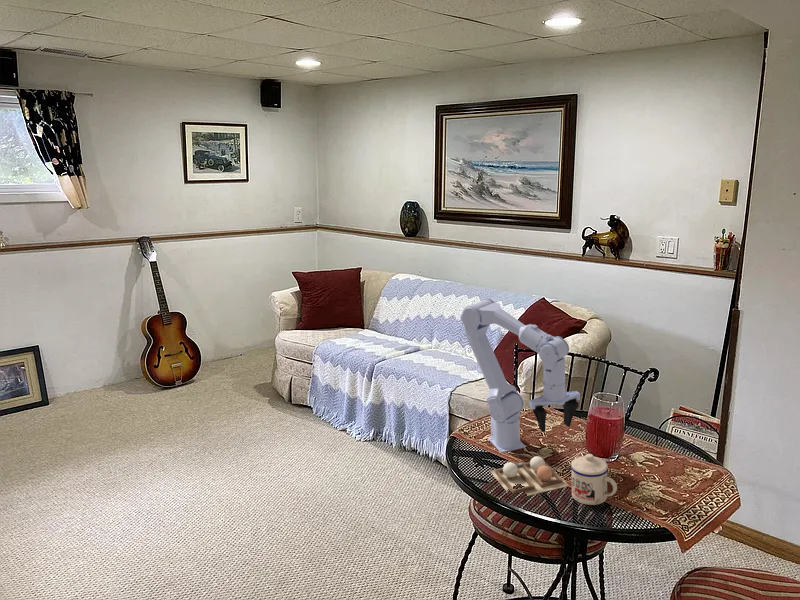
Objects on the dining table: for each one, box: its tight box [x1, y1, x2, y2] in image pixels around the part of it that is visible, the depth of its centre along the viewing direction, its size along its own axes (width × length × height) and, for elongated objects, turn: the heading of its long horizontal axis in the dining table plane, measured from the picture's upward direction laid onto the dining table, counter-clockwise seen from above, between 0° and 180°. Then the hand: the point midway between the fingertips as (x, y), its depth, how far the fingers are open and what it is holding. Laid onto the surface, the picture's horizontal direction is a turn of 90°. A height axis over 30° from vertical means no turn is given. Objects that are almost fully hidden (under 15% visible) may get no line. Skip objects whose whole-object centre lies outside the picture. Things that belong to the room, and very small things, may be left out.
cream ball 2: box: [529, 455, 546, 471], centre depth 181 cm, size 4×4×4 cm
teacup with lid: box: [570, 453, 618, 506], centre depth 166 cm, size 12×9×12 cm
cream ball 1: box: [502, 461, 518, 478], centre depth 180 cm, size 4×4×4 cm
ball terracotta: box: [537, 466, 552, 481], centre depth 177 cm, size 4×4×4 cm
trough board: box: [489, 460, 570, 497], centre depth 179 cm, size 15×16×1 cm
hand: (554, 427), depth 184 cm, fingers open, 7 cm apart
